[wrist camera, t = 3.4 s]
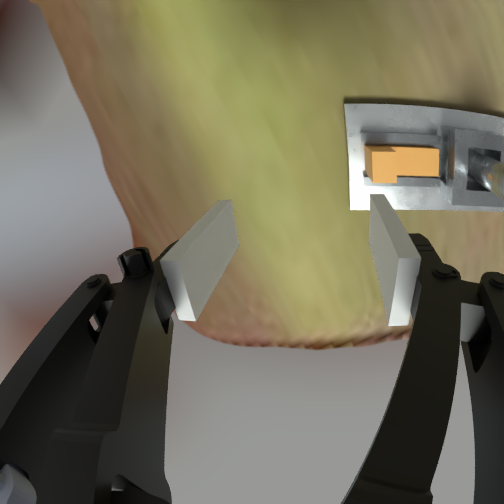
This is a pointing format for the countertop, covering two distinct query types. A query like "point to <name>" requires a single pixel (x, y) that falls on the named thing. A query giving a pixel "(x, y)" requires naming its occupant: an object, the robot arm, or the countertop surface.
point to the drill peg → (486, 172)
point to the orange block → (400, 162)
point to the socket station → (423, 134)
